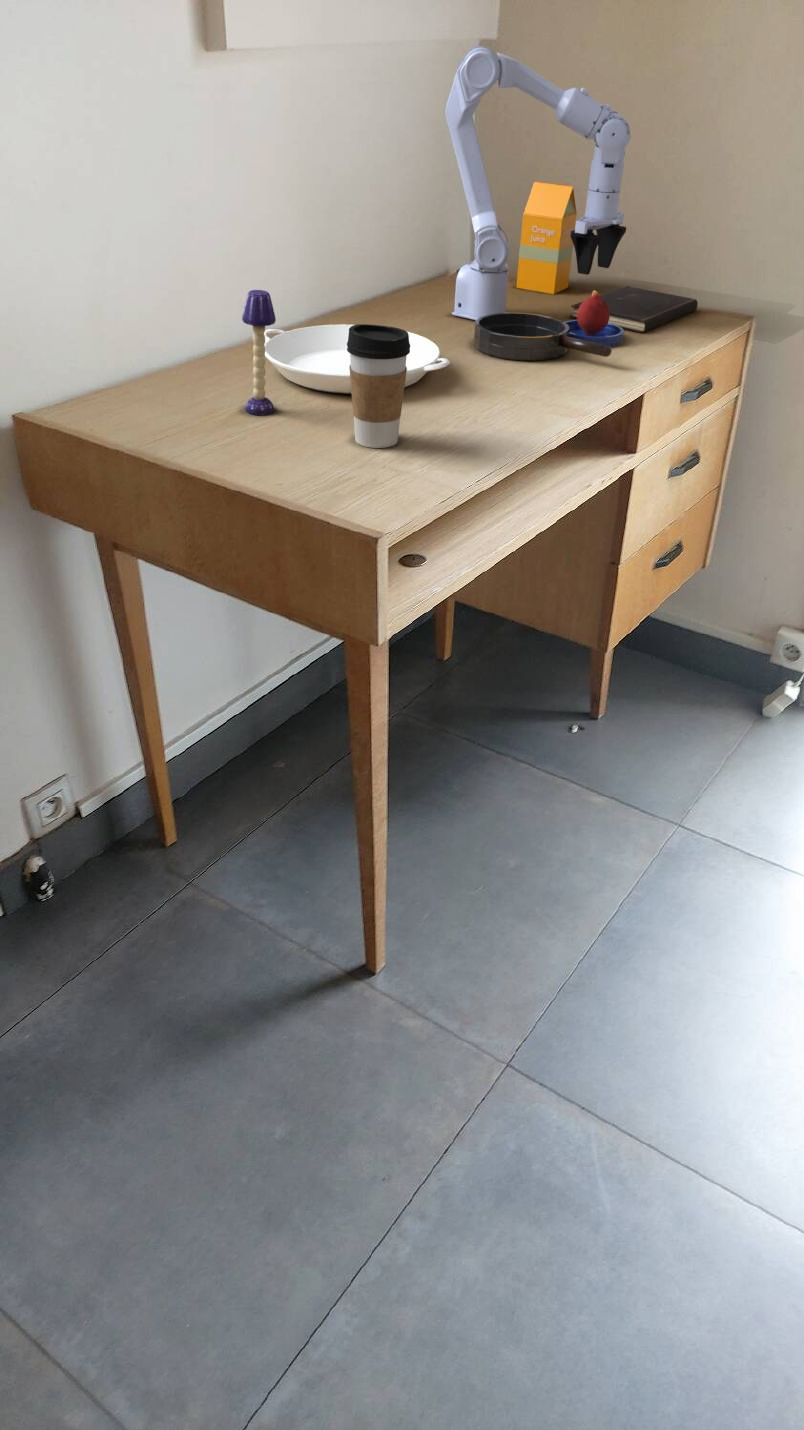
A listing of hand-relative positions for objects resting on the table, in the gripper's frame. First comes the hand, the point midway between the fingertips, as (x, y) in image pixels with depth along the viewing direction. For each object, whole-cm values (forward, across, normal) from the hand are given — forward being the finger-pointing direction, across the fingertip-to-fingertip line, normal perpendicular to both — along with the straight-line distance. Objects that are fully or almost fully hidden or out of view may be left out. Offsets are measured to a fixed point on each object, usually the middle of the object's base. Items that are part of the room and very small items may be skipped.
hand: (593, 270), depth 196 cm
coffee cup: (+10, -77, -10) cm, 78 cm away
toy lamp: (+10, -79, +10) cm, 80 cm away
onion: (+9, -9, -6) cm, 15 cm away
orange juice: (+10, +18, +21) cm, 29 cm away
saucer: (+9, -10, -6) cm, 15 cm away
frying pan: (+9, -24, 0) cm, 26 cm away
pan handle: (+7, -24, -13) cm, 28 cm away
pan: (+10, -56, +12) cm, 58 cm away
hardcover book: (+10, +12, -4) cm, 16 cm away
